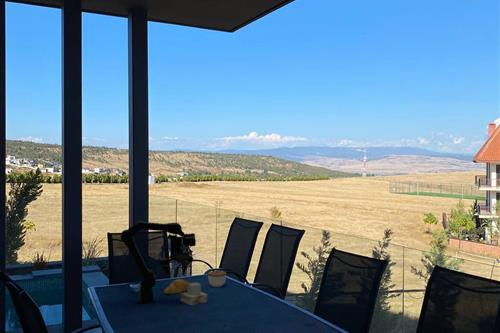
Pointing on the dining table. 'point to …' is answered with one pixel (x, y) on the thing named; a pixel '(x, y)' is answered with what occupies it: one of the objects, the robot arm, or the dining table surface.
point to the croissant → (177, 287)
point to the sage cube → (194, 289)
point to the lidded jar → (217, 278)
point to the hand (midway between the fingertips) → (175, 276)
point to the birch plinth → (193, 298)
